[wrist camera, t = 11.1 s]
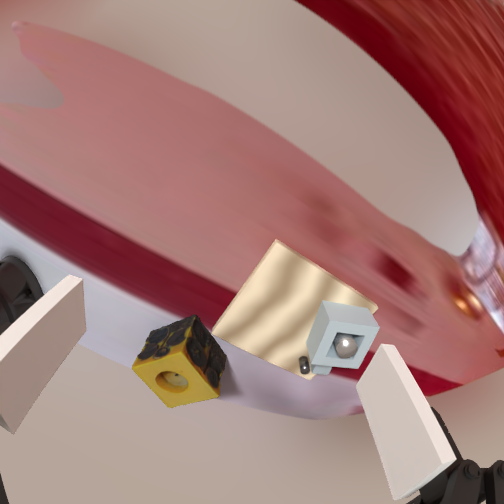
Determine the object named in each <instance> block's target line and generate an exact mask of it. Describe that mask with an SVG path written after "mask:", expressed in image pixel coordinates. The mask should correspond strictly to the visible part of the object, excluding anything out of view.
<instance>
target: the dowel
mask: <svg viewBox="0 0 504 504" xmlns="http://www.w3.org/2000/svg"><path fill="white" fill-rule="evenodd" d="M299 366H300V372H301V374H304V375H306V374H308V373H310V366H309V362H308V358H307V357H306V356H301V357H300V358H299Z"/></svg>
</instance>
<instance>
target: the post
mask: <svg viewBox="0 0 504 504" xmlns="http://www.w3.org/2000/svg"><path fill="white" fill-rule="evenodd" d="M333 342H334V345H335V347H336V350H337V353H338V356H339V357H341V358H350V357H352V356H353V355H355V353H356V352H357V350H358V346H357V344H356V342H355V340H354V337H353V335H352V334H347V333H340V332H337V333H336V335H335V338H334V340H333Z"/></svg>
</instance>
